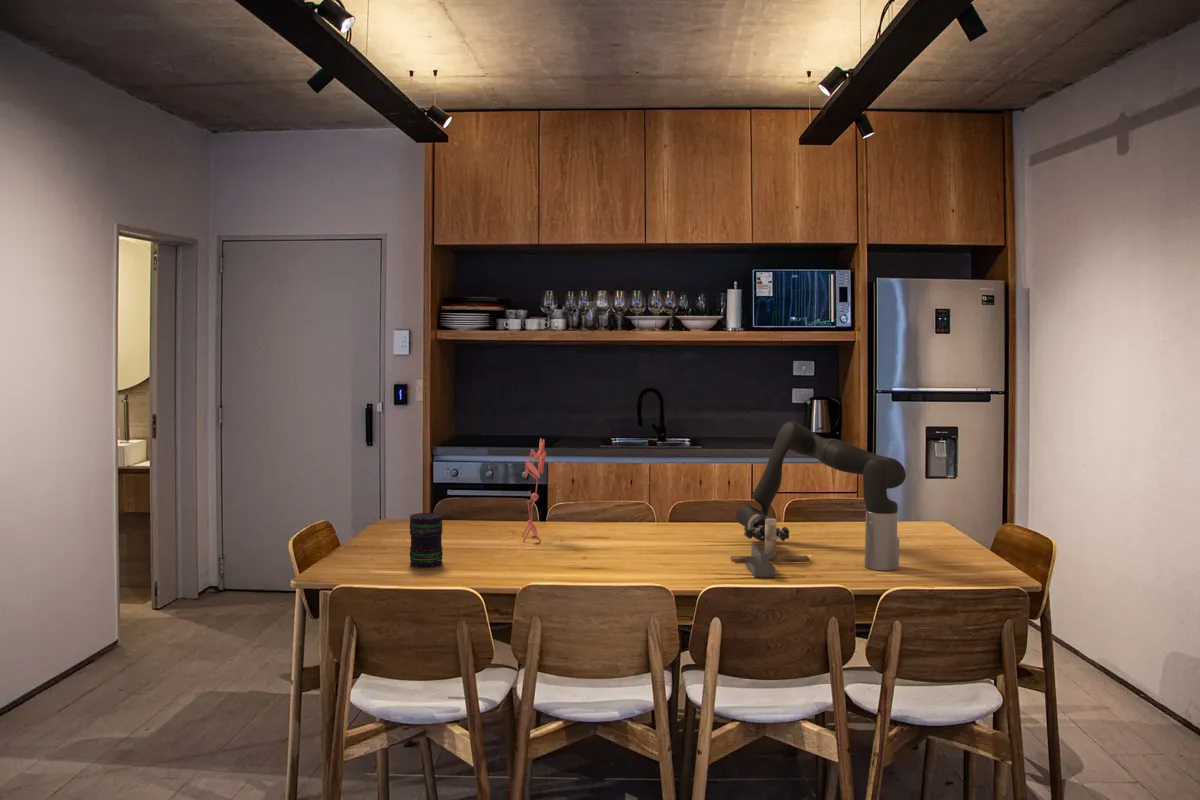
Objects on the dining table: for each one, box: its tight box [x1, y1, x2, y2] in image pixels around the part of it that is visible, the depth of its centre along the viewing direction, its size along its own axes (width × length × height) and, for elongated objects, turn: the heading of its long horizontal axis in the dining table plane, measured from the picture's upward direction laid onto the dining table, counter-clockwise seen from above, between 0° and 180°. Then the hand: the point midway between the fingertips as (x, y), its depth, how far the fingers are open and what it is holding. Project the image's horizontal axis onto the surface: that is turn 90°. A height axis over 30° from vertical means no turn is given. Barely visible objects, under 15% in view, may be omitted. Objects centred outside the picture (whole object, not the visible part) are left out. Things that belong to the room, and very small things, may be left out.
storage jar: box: [409, 512, 444, 569], centre depth 280 cm, size 10×10×15 cm
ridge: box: [744, 543, 776, 578], centre depth 273 cm, size 6×14×7 cm, turn 2°
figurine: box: [520, 437, 562, 546], centre depth 317 cm, size 15×26×35 cm, turn 6°
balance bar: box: [730, 517, 811, 563], centre depth 287 cm, size 24×4×14 cm, turn 91°
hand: (772, 537), depth 285 cm, fingers open, 6 cm apart
